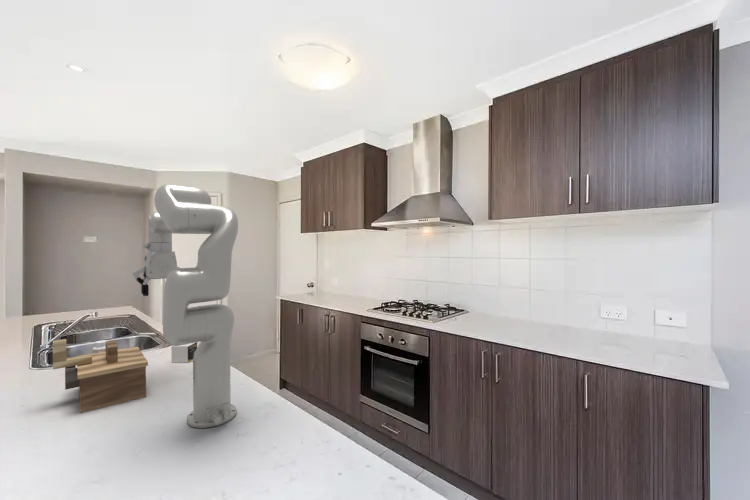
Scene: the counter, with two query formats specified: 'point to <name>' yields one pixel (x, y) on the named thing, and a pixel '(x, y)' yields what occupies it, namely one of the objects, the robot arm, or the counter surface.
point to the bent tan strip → (61, 356)
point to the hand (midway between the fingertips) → (160, 294)
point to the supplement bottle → (99, 346)
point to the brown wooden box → (107, 387)
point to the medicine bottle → (183, 353)
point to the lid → (112, 361)
